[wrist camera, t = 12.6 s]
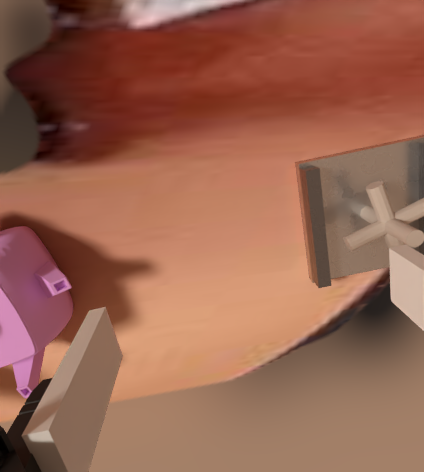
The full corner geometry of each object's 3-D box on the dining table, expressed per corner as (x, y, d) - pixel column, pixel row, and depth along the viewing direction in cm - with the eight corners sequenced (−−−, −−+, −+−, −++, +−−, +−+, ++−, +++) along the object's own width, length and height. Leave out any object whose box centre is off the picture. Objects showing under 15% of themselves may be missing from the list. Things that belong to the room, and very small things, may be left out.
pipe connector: (316, 196, 43) (351, 219, 33) (392, 158, 42) (451, 169, 32) (344, 262, 46) (383, 300, 36) (416, 227, 45) (476, 257, 35)
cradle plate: (295, 162, 43) (305, 166, 39) (423, 135, 42) (446, 136, 39) (309, 277, 48) (319, 291, 44) (423, 254, 48) (443, 265, 44)
